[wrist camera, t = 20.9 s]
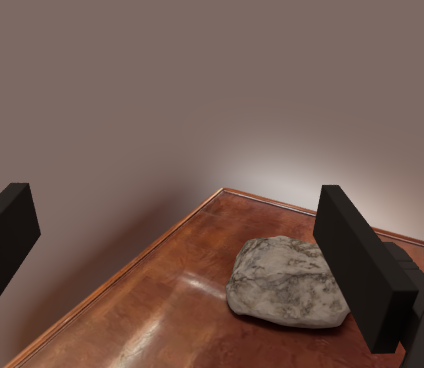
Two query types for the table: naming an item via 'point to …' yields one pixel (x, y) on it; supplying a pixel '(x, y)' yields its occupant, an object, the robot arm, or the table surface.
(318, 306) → the decorative stone
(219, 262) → the table surface
